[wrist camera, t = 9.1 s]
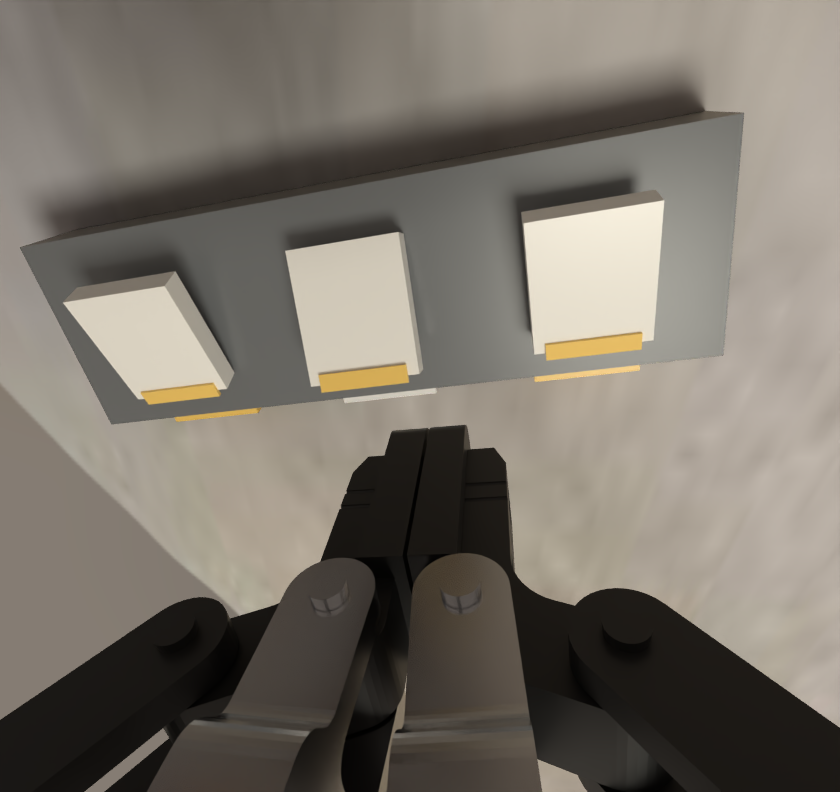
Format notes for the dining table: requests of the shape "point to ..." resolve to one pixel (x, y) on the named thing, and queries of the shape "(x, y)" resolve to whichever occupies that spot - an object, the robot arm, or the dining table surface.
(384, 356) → the switch
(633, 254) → the switch
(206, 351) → the switch
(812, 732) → the robot arm
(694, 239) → the switch box
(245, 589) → the dining table surface
